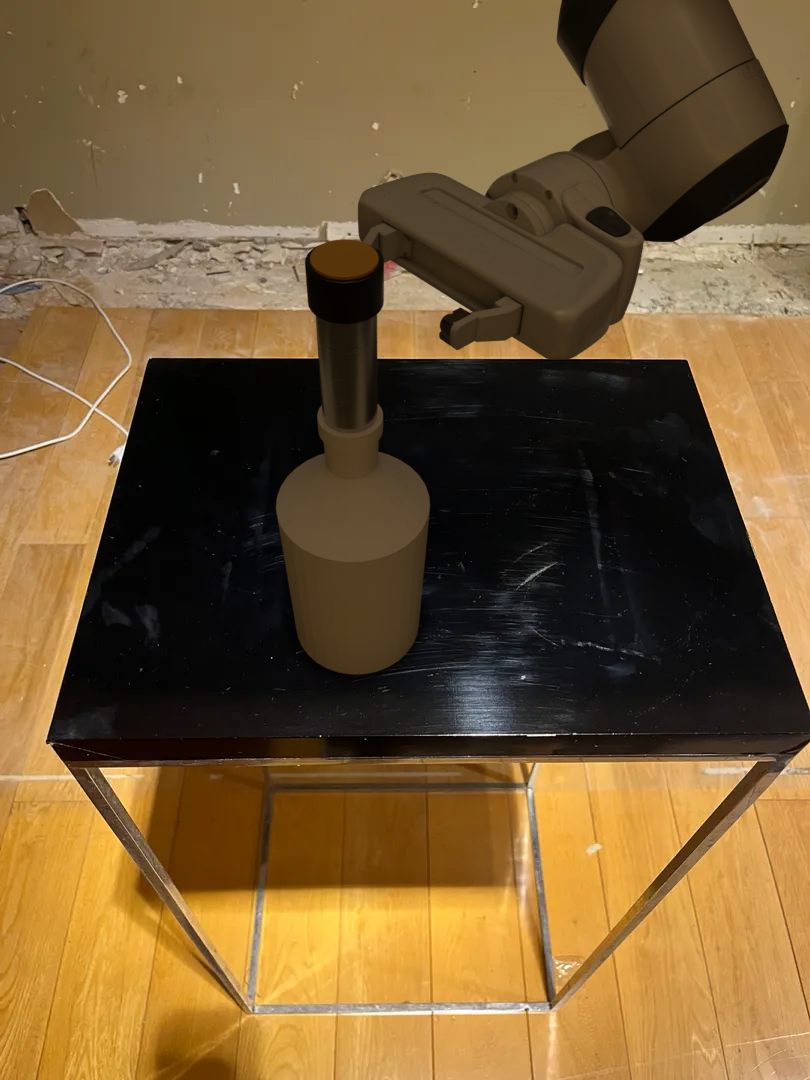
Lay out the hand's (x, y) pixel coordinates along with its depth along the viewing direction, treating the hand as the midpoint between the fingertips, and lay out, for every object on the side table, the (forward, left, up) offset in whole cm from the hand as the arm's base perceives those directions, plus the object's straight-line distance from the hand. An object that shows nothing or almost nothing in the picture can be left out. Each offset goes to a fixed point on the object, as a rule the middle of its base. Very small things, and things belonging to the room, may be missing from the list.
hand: (396, 301), depth 53 cm
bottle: (+2, +3, -33) cm, 33 cm away
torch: (+2, +3, -7) cm, 8 cm away
